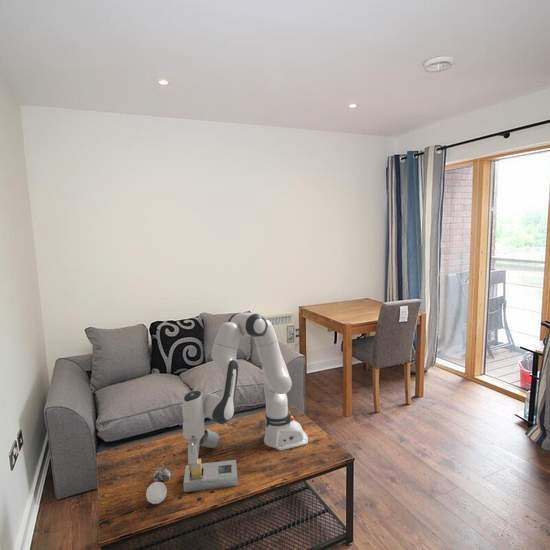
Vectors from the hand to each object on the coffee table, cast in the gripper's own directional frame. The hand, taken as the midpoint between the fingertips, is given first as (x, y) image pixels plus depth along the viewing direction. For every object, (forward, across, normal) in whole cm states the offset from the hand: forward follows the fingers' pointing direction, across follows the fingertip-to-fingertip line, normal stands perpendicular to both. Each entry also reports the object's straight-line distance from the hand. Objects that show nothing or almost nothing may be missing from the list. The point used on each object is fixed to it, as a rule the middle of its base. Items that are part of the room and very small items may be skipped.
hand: (194, 461), depth 160 cm
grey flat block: (+9, 0, -7) cm, 11 cm away
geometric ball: (+9, -10, +14) cm, 20 cm away
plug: (+9, 0, -1) cm, 9 cm away
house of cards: (+10, +3, +16) cm, 19 cm away
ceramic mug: (+9, +26, -4) cm, 28 cm away
